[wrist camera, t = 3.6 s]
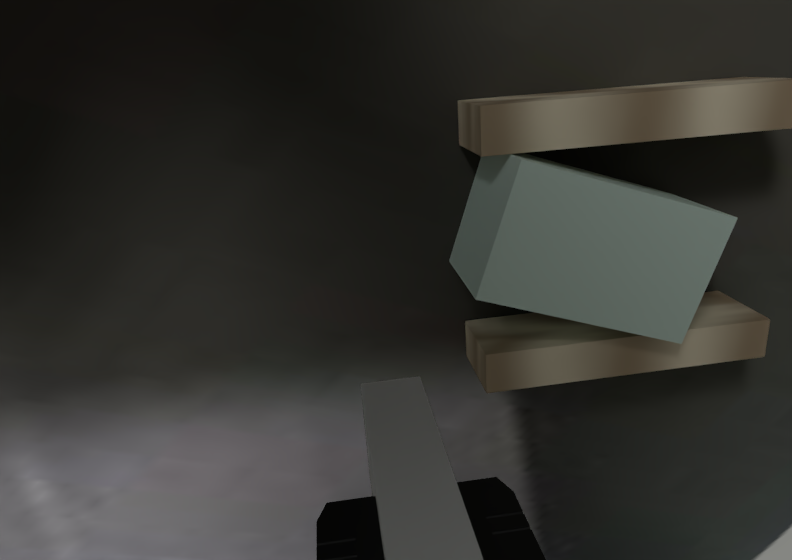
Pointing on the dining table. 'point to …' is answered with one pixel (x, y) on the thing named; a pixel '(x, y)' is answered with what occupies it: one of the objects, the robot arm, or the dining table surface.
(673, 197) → the block
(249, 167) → the dining table surface
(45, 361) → the dining table surface
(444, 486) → the robot arm
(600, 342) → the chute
